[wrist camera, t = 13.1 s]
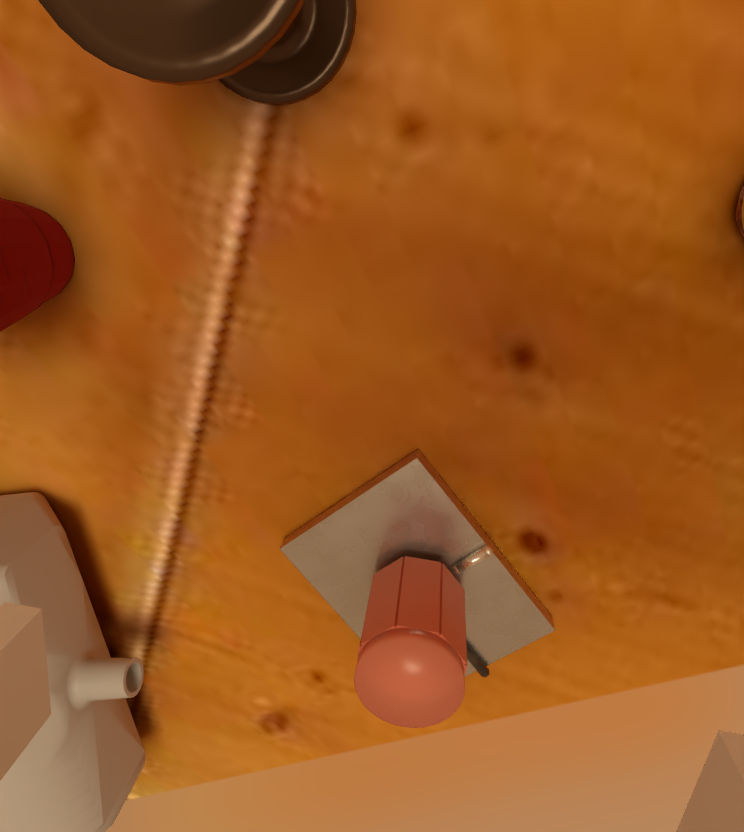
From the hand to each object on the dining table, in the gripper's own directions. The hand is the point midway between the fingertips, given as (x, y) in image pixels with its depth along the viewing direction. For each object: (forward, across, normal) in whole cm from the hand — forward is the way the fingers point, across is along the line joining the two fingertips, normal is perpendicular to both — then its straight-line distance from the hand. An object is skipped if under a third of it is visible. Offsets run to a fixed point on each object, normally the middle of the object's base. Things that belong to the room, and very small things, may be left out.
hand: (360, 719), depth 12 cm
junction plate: (+29, -2, +16) cm, 33 cm away
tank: (+29, +24, +26) cm, 46 cm away
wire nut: (+26, -2, +16) cm, 31 cm away
